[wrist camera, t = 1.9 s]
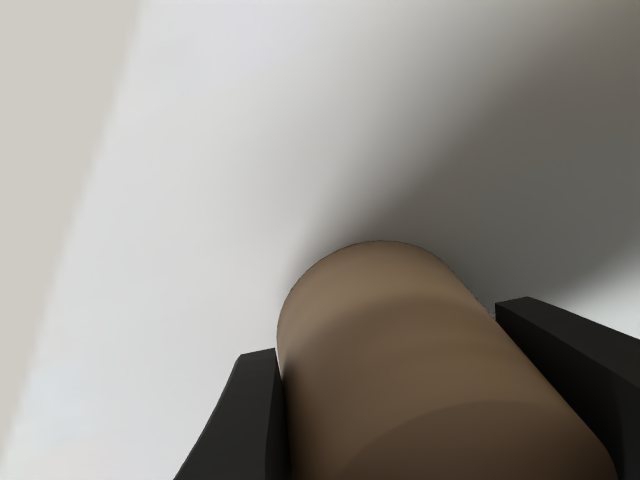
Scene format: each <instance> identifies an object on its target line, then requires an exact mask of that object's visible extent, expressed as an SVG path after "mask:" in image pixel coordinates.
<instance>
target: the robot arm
mask: <svg viewBox="0 0 640 480" xmlns="http://www.w3.org/2000/svg"><path fill="white" fill-rule="evenodd" d="M495 314H496V322H497V323H498V324H499V325H500V327H501V328H502V329H503V330H504V331H505V332H506V333H507V335H508V336H509V337H510V338H511V339H512V340H513V341H514V343H515V344H516V345H517V346H518V347H519V348H520V349H521V351H522V352H523V353H524V354H525V355H526V356H527V357H528V359H529V360H530V361H531V362H532V363H533V364H534V365H535V367H536V368H537V369H538V370H539V371H540V372H541V373H542V375H543V376H544V377H545V378H546V379H547V380H548V382H549V383H550V384H551V385H552V386H553V387H554V388H555V390H556V391H557V392H558V393H559V394H560V395H561V396H562V398H563V399H564V400H565V401H566V402H567V403H568V404H569V406H570V407H571V408H572V409H573V410H574V411H575V412H576V414H577V415H578V416H579V417H580V418H581V419H582V420H583V422H584V423H585V424H586V425H587V426H588V427H589V429H590V430H591V431H592V432H593V433H594V434H595V435H596V437H597V438H598V439H599V440H600V442H601V443H602V444H603V445H604V447H605V448H606V450H607V451H608V453H609V455H610V457H611V459H612V461H613V463H614V466H615V469H616V473H617V476H618V480H640V340H639V339H637V338H634V337H632V336H629V335H626V334H624V333H621V332H619V331H616V330H614V329H611V328H609V327H606V326H604V325H601V324H599V323H596V322H594V321H591V320H589V319H586V318H584V317H581V316H579V315H576V314H574V313H571V312H569V311H566V310H564V309H561V308H559V307H556V306H554V305H551V304H548V303H546V302H543V301H540V300H537V299H534V298H530V297H523V298H518V299H513V300H508V301H503V302H498V303H495ZM173 480H293V475H292V467H291V459H290V450H289V442H288V432H287V421H286V412H285V404H284V395H283V387H282V380H281V375H280V371H279V366H278V361H277V356H276V351H275V348H271V349H266V350H261V351H256V352H251V353H246V354H241V355H240V356H239V358H238V359H237V360H236V362H235V364H234V367H233V370H232V372H231V374H230V377H229V379H228V381H227V384H226V386H225V388H224V390H223V392H222V394H221V396H220V399H219V401H218V403H217V405H216V407H215V409H214V410H213V412H212V414H211V416H210V418H209V420H208V422H207V424H206V426H205V428H204V429H203V431H202V433H201V435H200V437H199V438H198V440H197V442H196V444H195V445H194V447H193V448H192V450H191V452H190V453H189V455H188V457H187V458H186V460H185V462H184V463H183V465H182V466H181V468H180V470H179V471H178V473H177V475H176V476H175V478H174V479H173Z"/></svg>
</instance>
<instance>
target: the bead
mask: <svg viewBox="0 0 640 480" xmlns="http://www.w3.org/2000/svg"><path fill="white" fill-rule="evenodd" d="M277 349H278V358H279V366H280V375H281V380H282V387H283V395H284V404H285V412H286V421H287V432H288V442H289V450H290V459H291V467H292V475H293V480H618V476H617V473H616V469H615V466H614V463H613V461H612V459H611V457H610V455H609V453H608V451H607V450H606V448H605V447H604V445H603V444H602V443H601V442H600V440H599V439H598V438H597V437H596V435H595V434H594V433H593V432H592V431H591V430H590V429H589V427H588V426H587V425H586V424H585V423H584V422H583V420H582V419H581V418H580V417H579V416H578V415H577V414H576V412H575V411H574V410H573V409H572V408H571V407H570V406H569V404H568V403H567V402H566V401H565V400H564V399H563V398H562V396H561V395H560V394H559V393H558V392H557V391H556V390H555V388H554V387H553V386H552V385H551V384H550V383H549V382H548V380H547V379H546V378H545V377H544V376H543V375H542V373H541V372H540V371H539V370H538V369H537V368H536V367H535V365H534V364H533V363H532V362H531V361H530V360H529V359H528V357H527V356H526V355H525V354H524V353H523V352H522V351H521V349H520V348H519V347H518V346H517V345H516V344H515V343H514V341H513V340H512V339H511V338H510V337H509V336H508V335H507V333H506V332H505V331H504V330H503V329H502V328H501V327H500V325H499V324H498V323H497V322H496V321H495V320H494V318H493V317H492V316H491V315H490V314H489V313H488V312H487V310H486V309H485V308H484V307H483V306H482V305H481V304H480V302H479V301H478V300H477V299H476V298H475V297H474V296H473V294H472V293H471V292H470V291H469V290H468V289H467V288H466V286H465V285H464V284H463V283H462V282H461V281H460V280H459V278H458V277H457V276H456V275H455V274H454V273H453V271H452V270H451V269H450V268H449V267H448V266H447V265H446V264H445V263H444V262H442V261H441V260H440V259H439V258H437V257H436V256H434V255H433V254H431V253H430V252H428V251H426V250H424V249H421V248H419V247H416V246H413V245H410V244H407V243H401V242H395V241H372V242H365V243H360V244H355V245H352V246H349V247H346V248H343V249H340V250H338V251H336V252H334V253H332V254H330V255H328V256H327V257H325V258H323V259H322V260H320V261H319V262H317V263H316V264H315V265H314V266H312V267H311V268H310V269H309V270H307V272H306V273H305V274H304V275H303V276H302V277H301V278H300V279H299V280H298V281H297V283H296V284H295V285H294V287H293V288H292V289H291V291H290V293H289V294H288V296H287V298H286V300H285V302H284V304H283V307H282V310H281V312H280V316H279V320H278V325H277Z"/></svg>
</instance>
